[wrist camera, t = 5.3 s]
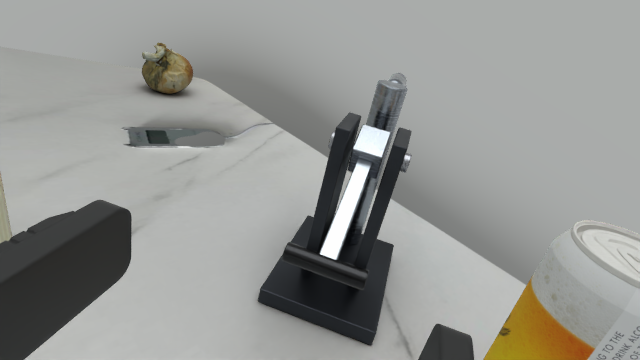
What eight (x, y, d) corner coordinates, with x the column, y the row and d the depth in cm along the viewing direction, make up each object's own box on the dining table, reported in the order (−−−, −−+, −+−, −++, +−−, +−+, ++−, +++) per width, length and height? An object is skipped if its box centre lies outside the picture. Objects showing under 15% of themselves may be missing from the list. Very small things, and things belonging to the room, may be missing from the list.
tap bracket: (371, 346, 29) (436, 179, 23) (257, 301, 30) (290, 134, 24) (390, 255, 39) (438, 125, 33) (305, 225, 41) (336, 95, 35)
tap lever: (359, 298, 23) (366, 280, 22) (281, 269, 24) (281, 249, 22) (402, 159, 31) (409, 137, 29) (341, 140, 32) (345, 118, 30)
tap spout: (356, 248, 37) (406, 91, 30) (332, 239, 37) (376, 83, 31) (370, 208, 44) (413, 75, 38) (350, 201, 45) (388, 68, 38)
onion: (190, 101, 66) (194, 52, 63) (138, 94, 64) (139, 43, 60) (192, 88, 73) (195, 43, 69) (144, 81, 70) (145, 34, 66)
